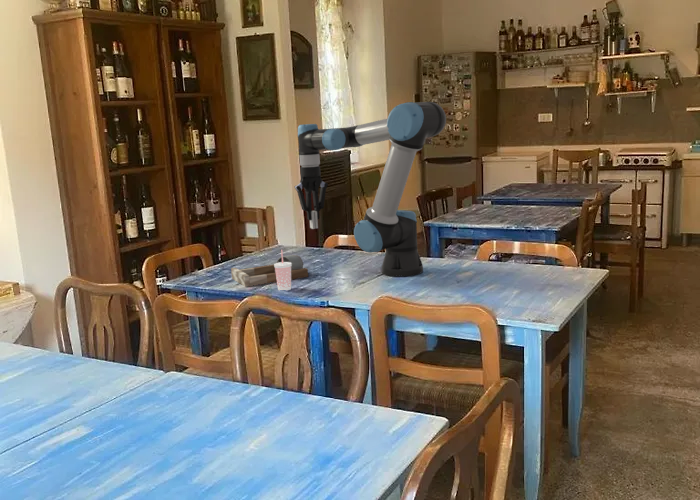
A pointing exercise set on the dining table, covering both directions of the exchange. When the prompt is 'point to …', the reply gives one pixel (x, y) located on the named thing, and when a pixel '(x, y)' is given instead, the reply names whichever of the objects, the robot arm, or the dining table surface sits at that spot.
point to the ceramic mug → (292, 261)
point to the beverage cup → (283, 274)
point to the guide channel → (262, 275)
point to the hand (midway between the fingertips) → (314, 228)
